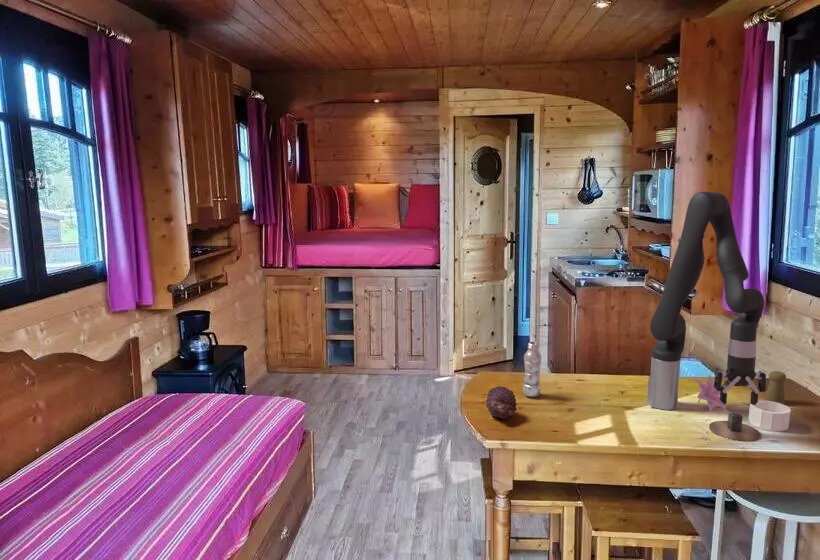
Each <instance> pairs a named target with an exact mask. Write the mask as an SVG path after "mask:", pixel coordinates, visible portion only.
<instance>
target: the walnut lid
mask: <svg viewBox="0 0 820 560" xmlns="http://www.w3.org/2000/svg"><path fill="white" fill-rule="evenodd" d="M743 418H744V416H743V415H742V414H740V412H728V416H727V420H716V421H712V422H710V423H709V427H708V428H709V430H711V433H712V434H715V435H716V436H719V437H720V436H721V437H720V438H723V437H724V438H723V439H726V438H728V439H727V440H730V439H732V440H731V441H736V440H737V441H738V442H754V441H758V440H759V439H760V437H761V432H760V431H759V430H758V429H756V427H754V426H752V425H749V424H746V423H743Z"/></svg>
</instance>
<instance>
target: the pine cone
mask: <svg viewBox="0 0 820 560" xmlns="http://www.w3.org/2000/svg"><path fill="white" fill-rule="evenodd" d="M485 403H486V404H485V405H486V408H487V410H488V412H489V413H490V415H491V416H493V417H494V418H500V419H503V420H504V419H508V418H509V417H511V416H512V415H514V414H515V412H517V410H518V409H517V404H518V403H517V399H516V395H515V394H514V391H513V390H511V389H509V388H508V387H505V386H501V385H498V386H495V387H492V388H491V389H490V390H489V391H488V392H487V396H486V400H485Z"/></svg>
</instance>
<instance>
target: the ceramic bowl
mask: <svg viewBox="0 0 820 560" xmlns="http://www.w3.org/2000/svg"><path fill="white" fill-rule="evenodd" d="M791 411H792V409H791V408H790V407H789V406H787V405H785V404H784V405H783V404H780V403H777V402H772V401H765V399H764V400H759V399H758V402H757V403H756V405H752V404H751V403H750V404H749V410H748V423H749V424H750V426H752V427H754V428H758V429H761V430H764V431H769V432H776V433H777V432H786V431H788V430H789V429H790V428H789V426H790V420H791V413H792V412H791Z"/></svg>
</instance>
